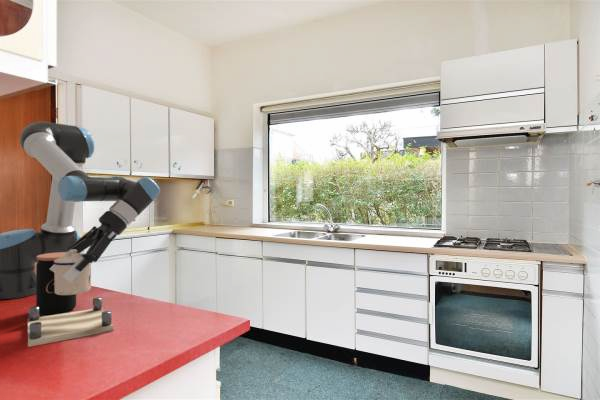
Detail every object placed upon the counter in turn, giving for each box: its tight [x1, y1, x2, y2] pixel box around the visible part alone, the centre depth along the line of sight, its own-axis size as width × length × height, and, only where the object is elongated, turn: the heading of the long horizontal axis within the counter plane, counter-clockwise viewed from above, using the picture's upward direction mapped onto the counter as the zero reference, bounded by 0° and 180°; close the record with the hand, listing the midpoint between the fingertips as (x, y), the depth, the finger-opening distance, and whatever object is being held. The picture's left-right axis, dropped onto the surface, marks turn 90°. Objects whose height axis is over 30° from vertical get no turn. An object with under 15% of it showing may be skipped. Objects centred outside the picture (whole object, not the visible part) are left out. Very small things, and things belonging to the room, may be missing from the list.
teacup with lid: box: [53, 249, 92, 295], centre depth 103 cm, size 12×9×12 cm
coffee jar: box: [35, 252, 77, 316], centre depth 117 cm, size 11×11×18 cm
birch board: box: [27, 307, 115, 348], centre depth 103 cm, size 19×19×2 cm
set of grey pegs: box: [28, 296, 112, 340], centre depth 103 cm, size 18×18×4 cm
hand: (59, 275), depth 101 cm, fingers closed on teacup with lid, 12 cm apart
